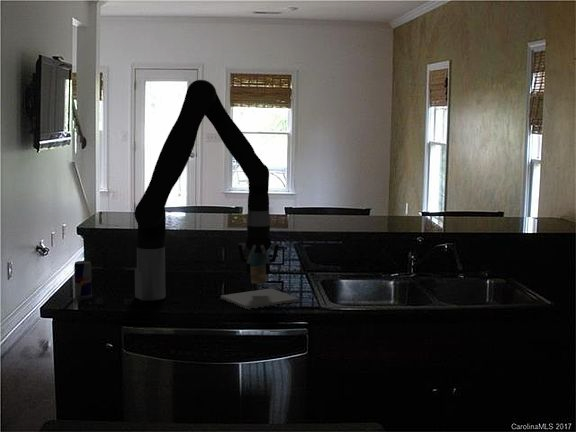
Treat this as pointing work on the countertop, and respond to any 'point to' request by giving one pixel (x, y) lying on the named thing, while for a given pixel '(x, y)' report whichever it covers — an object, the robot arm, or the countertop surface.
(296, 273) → the countertop surface
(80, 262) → the energy drink
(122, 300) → the countertop surface
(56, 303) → the countertop surface
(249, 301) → the cream board
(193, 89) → the robot arm
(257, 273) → the brown tall block
